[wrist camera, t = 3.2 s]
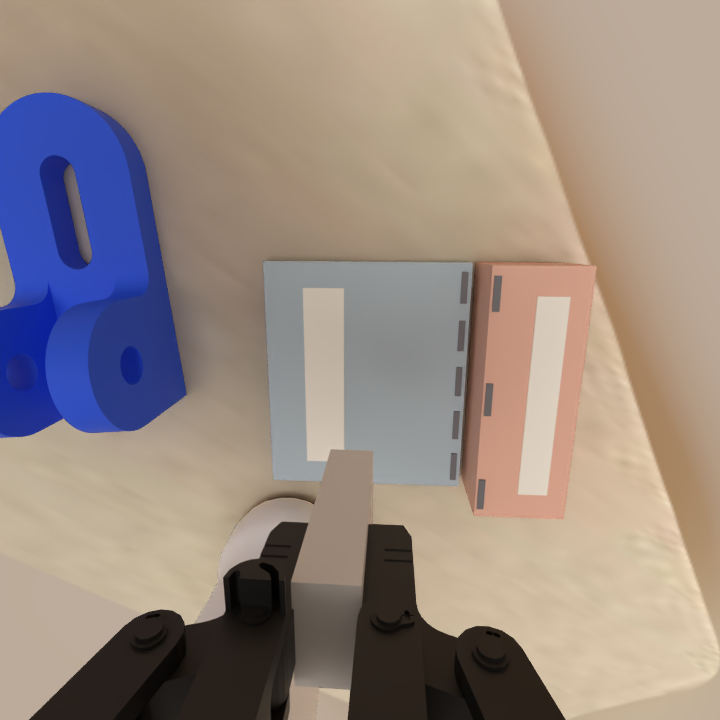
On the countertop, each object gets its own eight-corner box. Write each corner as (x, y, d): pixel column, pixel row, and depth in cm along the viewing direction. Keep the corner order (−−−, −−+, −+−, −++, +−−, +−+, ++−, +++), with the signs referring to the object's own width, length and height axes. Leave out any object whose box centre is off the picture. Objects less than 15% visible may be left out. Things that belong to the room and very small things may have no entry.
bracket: (187, 393, 30) (107, 453, 22) (70, 400, 31) (-54, 461, 22) (133, 97, 26) (5, 22, 17) (-2, 111, 27) (-190, 47, 18)
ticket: (269, 260, 28) (262, 261, 26) (468, 261, 27) (473, 262, 25) (278, 468, 31) (272, 480, 29) (455, 474, 30) (458, 487, 29)
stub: (475, 261, 27) (493, 265, 22) (562, 262, 26) (597, 266, 22) (461, 476, 30) (474, 516, 26) (537, 479, 30) (564, 520, 25)
